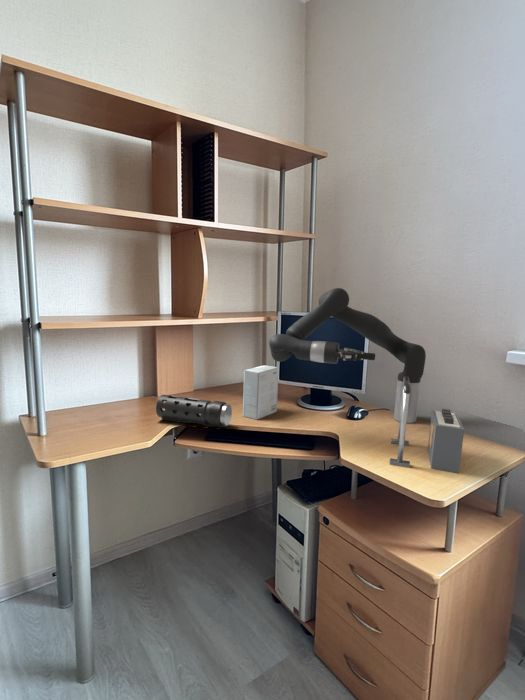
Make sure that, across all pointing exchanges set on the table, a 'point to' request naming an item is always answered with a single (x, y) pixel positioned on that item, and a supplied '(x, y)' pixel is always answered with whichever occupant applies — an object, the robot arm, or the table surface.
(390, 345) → the robot arm
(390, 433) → the table surface
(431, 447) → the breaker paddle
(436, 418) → the box
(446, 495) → the table surface
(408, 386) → the cord gate
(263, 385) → the hard drive box
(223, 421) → the muzzle brake
